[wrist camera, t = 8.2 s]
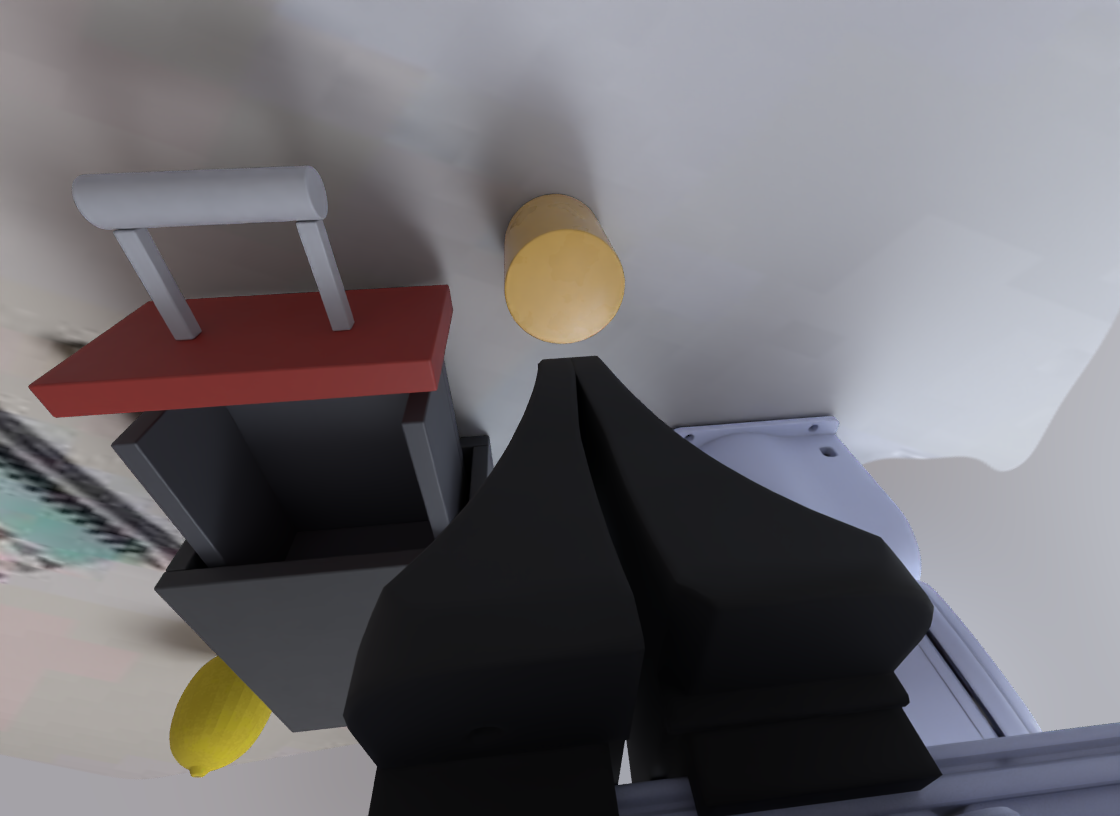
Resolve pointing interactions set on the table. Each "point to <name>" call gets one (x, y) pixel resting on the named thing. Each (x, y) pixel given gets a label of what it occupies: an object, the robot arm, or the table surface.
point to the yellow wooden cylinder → (560, 270)
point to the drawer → (269, 384)
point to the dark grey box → (294, 616)
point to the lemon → (215, 719)
